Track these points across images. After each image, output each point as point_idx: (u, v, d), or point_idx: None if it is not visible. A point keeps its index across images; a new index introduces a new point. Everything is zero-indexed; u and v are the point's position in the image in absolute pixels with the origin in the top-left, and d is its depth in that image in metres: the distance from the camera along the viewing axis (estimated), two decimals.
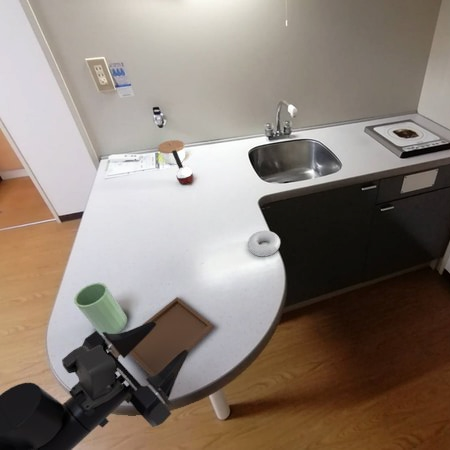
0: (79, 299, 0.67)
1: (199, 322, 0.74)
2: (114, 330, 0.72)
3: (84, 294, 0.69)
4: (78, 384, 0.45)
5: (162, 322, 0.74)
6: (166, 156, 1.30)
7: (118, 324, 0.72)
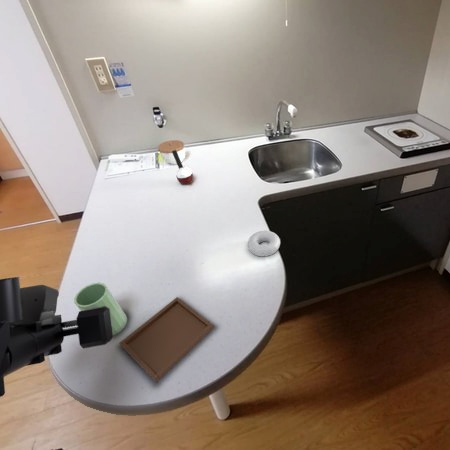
0: (79, 299, 0.67)
1: (199, 322, 0.74)
2: (114, 330, 0.72)
3: (84, 294, 0.69)
4: None
5: (162, 322, 0.74)
6: (166, 156, 1.30)
7: (118, 324, 0.72)
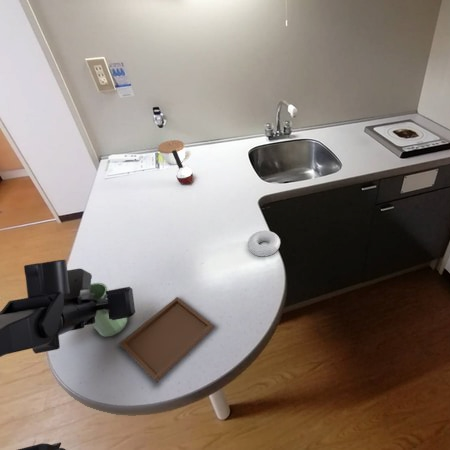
0: None
1: (199, 322, 0.74)
2: (114, 330, 0.72)
3: None
4: None
5: (162, 322, 0.74)
6: (166, 156, 1.30)
7: (118, 324, 0.72)
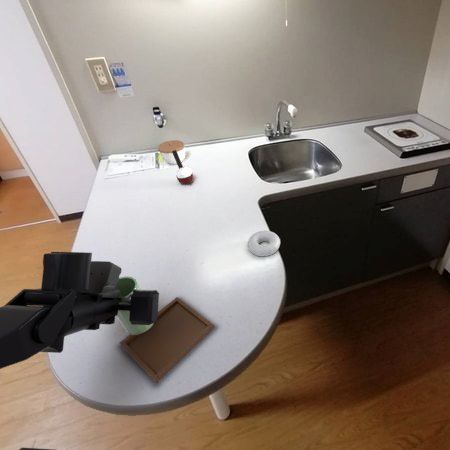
0: None
1: (199, 322, 0.74)
2: (139, 329, 0.66)
3: None
4: None
5: (162, 322, 0.74)
6: (166, 156, 1.30)
7: None
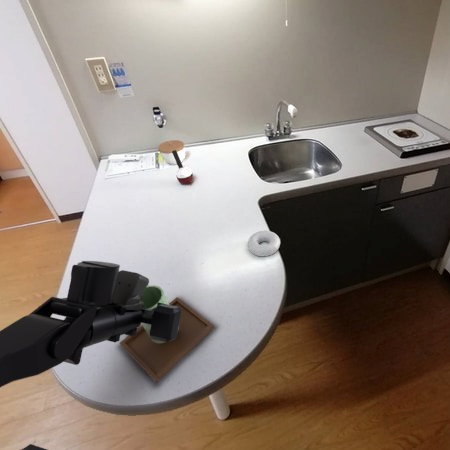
0: None
1: (199, 322, 0.74)
2: None
3: (144, 293, 0.64)
4: None
5: None
6: (166, 156, 1.30)
7: None
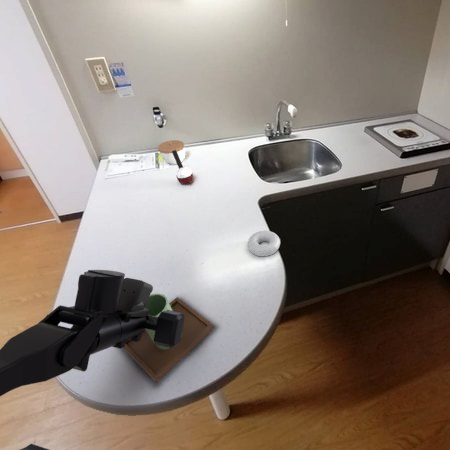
0: None
1: (199, 322, 0.74)
2: None
3: (149, 301, 0.66)
4: None
5: None
6: (166, 156, 1.30)
7: None
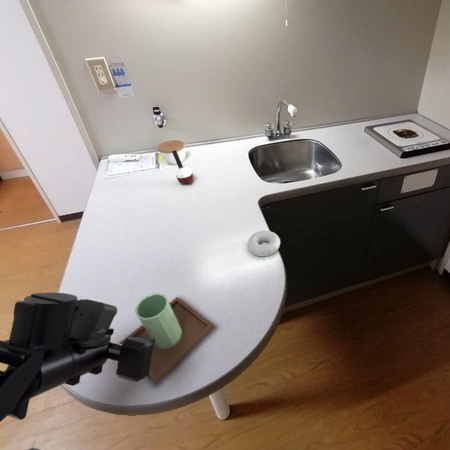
0: (142, 306, 0.65)
1: (199, 322, 0.74)
2: (165, 345, 0.68)
3: (149, 301, 0.66)
4: None
5: None
6: (166, 156, 1.30)
7: (170, 340, 0.68)
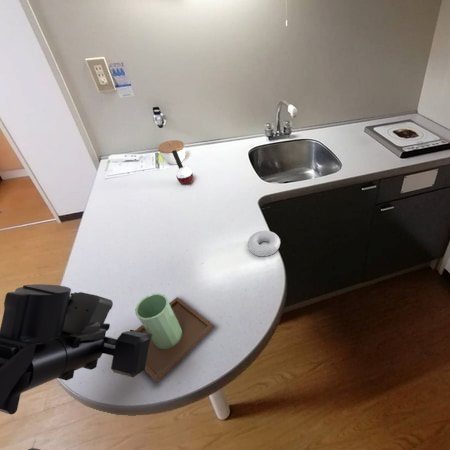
0: (142, 306, 0.65)
1: (199, 322, 0.74)
2: (165, 345, 0.68)
3: (149, 301, 0.66)
4: None
5: None
6: (166, 156, 1.30)
7: (170, 340, 0.68)
